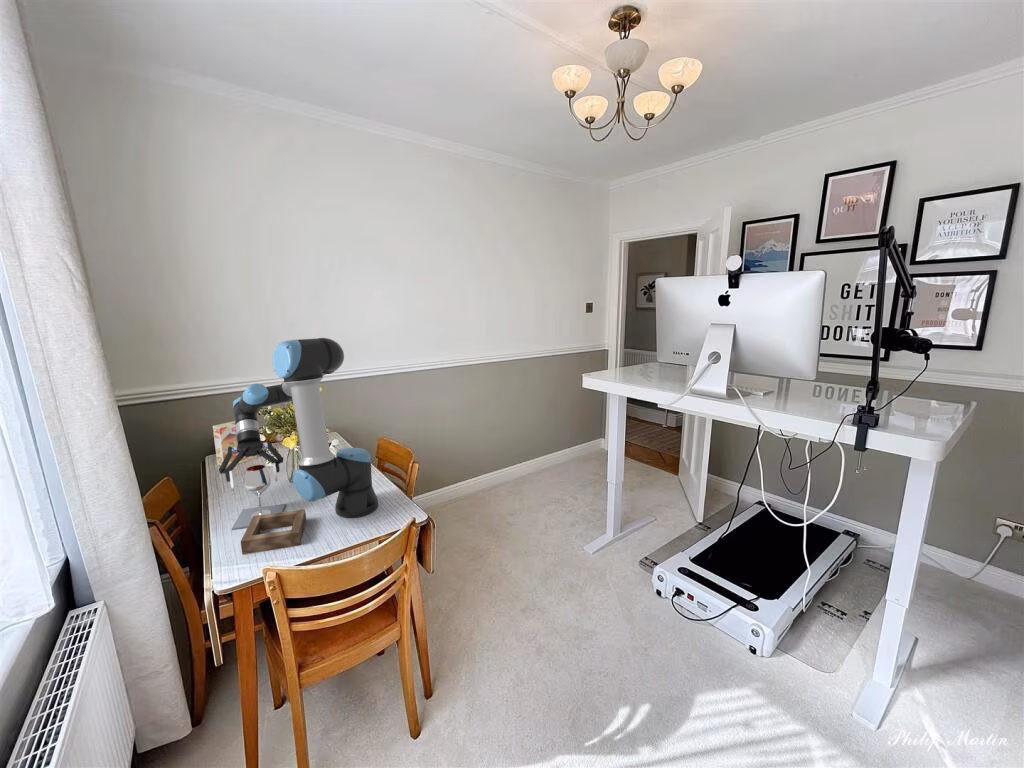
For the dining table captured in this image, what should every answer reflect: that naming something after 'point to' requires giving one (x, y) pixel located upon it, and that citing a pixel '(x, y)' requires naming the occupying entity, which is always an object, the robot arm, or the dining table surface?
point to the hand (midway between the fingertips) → (255, 484)
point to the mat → (246, 514)
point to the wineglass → (257, 484)
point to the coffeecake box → (226, 442)
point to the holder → (274, 540)
